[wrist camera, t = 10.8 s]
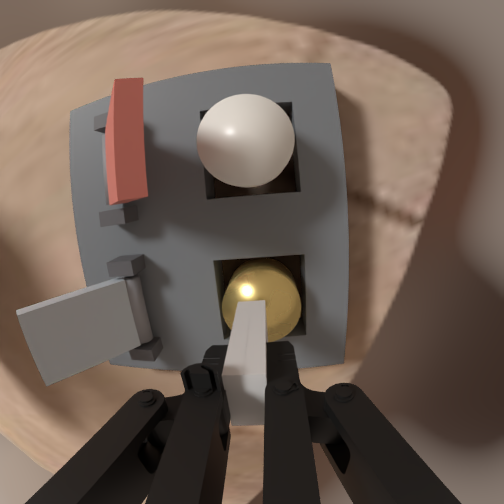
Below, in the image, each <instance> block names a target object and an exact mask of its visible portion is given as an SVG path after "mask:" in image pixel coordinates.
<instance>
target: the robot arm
mask: <svg viewBox="0 0 504 504" xmlns="http://www.w3.org/2000/svg"><path fill="white" fill-rule="evenodd" d="M181 377H182V381H183V384H184V388H185V393H184V394H182V395H178V396H173V397H166V398H164V395H163V394H162V393H161V392H160V391H158V390H154V389H146V390H142V391H139V392H137V393H136V394H134V395H133V396H132V397H131V398H130V399H129V400H128V401H127V402H126V403H125V404H124V405H123V406H122V407H121V408H120V409H119V410H118V412H117V413H116V414H115V415H114V416H113V417H112V418H111V419H110V420H109V421H108V422H107V423H106V424H105V425H104V426H103V427H102V428H101V429H100V430H99V431H98V432H97V433H96V434H95V435H94V436H93V437H92V438H91V439H90V440H89V441H88V442H87V443H86V444H85V445H84V446H83V447H82V448H81V449H80V450H79V451H78V452H77V453H76V454H75V455H74V456H73V457H72V458H71V459H70V460H69V461H68V462H67V463H66V464H65V465H64V466H63V467H62V468H61V469H60V470H59V471H58V472H57V473H56V474H55V475H54V476H53V477H52V478H51V479H50V480H49V481H48V482H47V483H46V484H44V485H43V487H41V488H40V489H39V490H38V491H37V492H36V493H35V494H34V495H33V496H32V497H31V498H30V499H29V500H28V501H27V502H26V503H25V504H142V502H143V501H144V500H145V498H146V497H147V495H148V497H147V500H146V503H145V504H222V497H223V490H224V482H225V475H226V467H227V460H228V452H229V445H230V437H231V434H230V429H229V424H230V420H231V424H232V426H242V425H264V475H263V504H321V503H320V496H319V489H318V481H317V474H316V467H315V460H314V454H313V447H312V442H314V443H320V445H321V447H322V449H323V451H324V453H325V454H326V456H327V458H328V460H329V461H330V463H331V465H332V467H333V469H334V471H335V472H336V474H337V476H338V478H339V479H340V481H341V483H342V485H343V486H344V488H345V490H346V492H347V493H348V495H349V497H350V498H351V500H352V502H353V504H461V503H460V502H459V500H458V499H457V498H456V497H455V496H454V495H453V494H452V493H451V492H450V490H449V489H448V488H447V487H446V486H445V485H444V484H443V482H442V481H441V480H440V479H439V478H438V477H437V476H436V475H435V473H434V472H433V471H432V470H431V469H430V468H429V467H428V466H427V465H426V463H425V462H424V461H423V460H422V459H421V458H420V456H419V455H418V454H417V453H416V452H415V451H414V450H413V449H412V447H411V446H410V445H409V444H408V443H407V442H406V440H405V439H404V438H403V437H402V436H401V435H400V434H399V432H398V431H397V430H396V429H395V428H394V427H393V426H392V424H391V423H390V422H389V421H388V420H387V419H386V418H385V416H384V415H383V414H382V413H381V412H380V411H379V410H378V409H377V407H376V406H375V405H374V404H373V403H372V401H371V400H370V399H369V398H368V397H367V396H366V395H365V393H364V392H363V391H362V390H361V389H360V388H359V387H357V386H356V385H353V384H350V383H339V384H335V385H333V386H331V387H329V388H328V389H327V390H326V392H317V391H312V390H309V389H307V388H306V387H304V386H303V385H302V384H301V382H300V379H299V373H298V368H297V362H296V356H295V350H294V346H293V345H292V344H291V343H290V342H289V341H278V342H268V332H267V318H266V305H265V300H259V301H243V302H238V304H237V308H236V313H235V317H234V322H233V326H232V331H231V335H230V340H229V344H228V345H212V346H211V347H210V348H208V349H207V350H206V352H205V354H204V357H203V360H202V363H196V364H192V365H189V366H187V367H186V368H184V369H183V370H182V372H181Z"/></svg>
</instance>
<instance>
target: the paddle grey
mask: <svg viewBox="0 0 504 504" xmlns="http://www.w3.org/2000/svg"><path fill="white" fill-rule="evenodd" d="M16 313H17V317H18V320H19V323H20V326H21V329H22V331H23V334H24V337H25V339H26V342H27V345H28V347H29V350H30V352H31V354H32V357H33V359H34V361H35V363H36V366H37V368H38V370H39V372H40V374H41V376H42V378H43V380H44V382H45V384H46V386H49V385H51V384H54V383H56V382H59V381H61V380H63V379H66V378H68V377H71V376H73V375H75V374H78V373H80V372H82V371H85V370H87V369H89V368H91V367H94V366H96V365H98V364H101V363H103V362H105V361H107V360H110V359H112V358H114V357H116V356H118V355H121V354H123V353H125V352H127V351H129V350H132V349H134V348H136V347H138V346H140V345H141V344H143V343H147V342H149V341H151V340H152V339H153V334H152V330H151V326H150V322H149V318H148V313H147V309H146V305H145V300H144V295H143V290H142V286H141V280H140V276H139V275H137V274H136V275H134V276H123V277H121V278H115V279H111V280H108V281H105V282H102V283H99V284H95V285H92V286H89V287H86V288H83V289H80V290H77V291H73V292H70V293H67V294H64V295H61V296H58V297H55V298H52V299H49V300H46V301H43V302H39V303H36V304H33V305H30V306H27V307H24V308H21V309H18V310H16Z"/></svg>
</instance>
